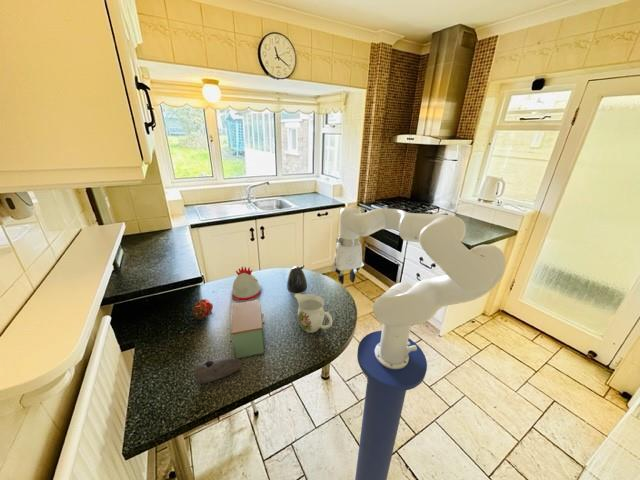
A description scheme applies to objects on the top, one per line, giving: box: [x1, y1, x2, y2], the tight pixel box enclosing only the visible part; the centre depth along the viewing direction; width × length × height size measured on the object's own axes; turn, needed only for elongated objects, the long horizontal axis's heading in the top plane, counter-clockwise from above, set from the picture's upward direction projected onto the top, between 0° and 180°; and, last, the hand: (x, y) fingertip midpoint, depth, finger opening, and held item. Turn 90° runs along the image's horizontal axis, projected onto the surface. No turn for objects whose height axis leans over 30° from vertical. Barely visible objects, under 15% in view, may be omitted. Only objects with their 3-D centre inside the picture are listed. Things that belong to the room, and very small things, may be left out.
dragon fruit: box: [191, 298, 214, 321], centre depth 114 cm, size 8×8×12 cm
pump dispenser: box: [286, 264, 308, 297], centre depth 128 cm, size 10×10×15 cm
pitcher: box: [293, 293, 333, 334], centre depth 106 cm, size 11×18×14 cm, turn 58°
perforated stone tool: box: [192, 357, 243, 385], centre depth 86 cm, size 15×5×7 cm, turn 110°
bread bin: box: [230, 299, 266, 359], centre depth 100 cm, size 12×17×13 cm
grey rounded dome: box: [231, 266, 262, 302], centre depth 128 cm, size 14×14×15 cm
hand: (346, 281), depth 103 cm, fingers open, 3 cm apart
